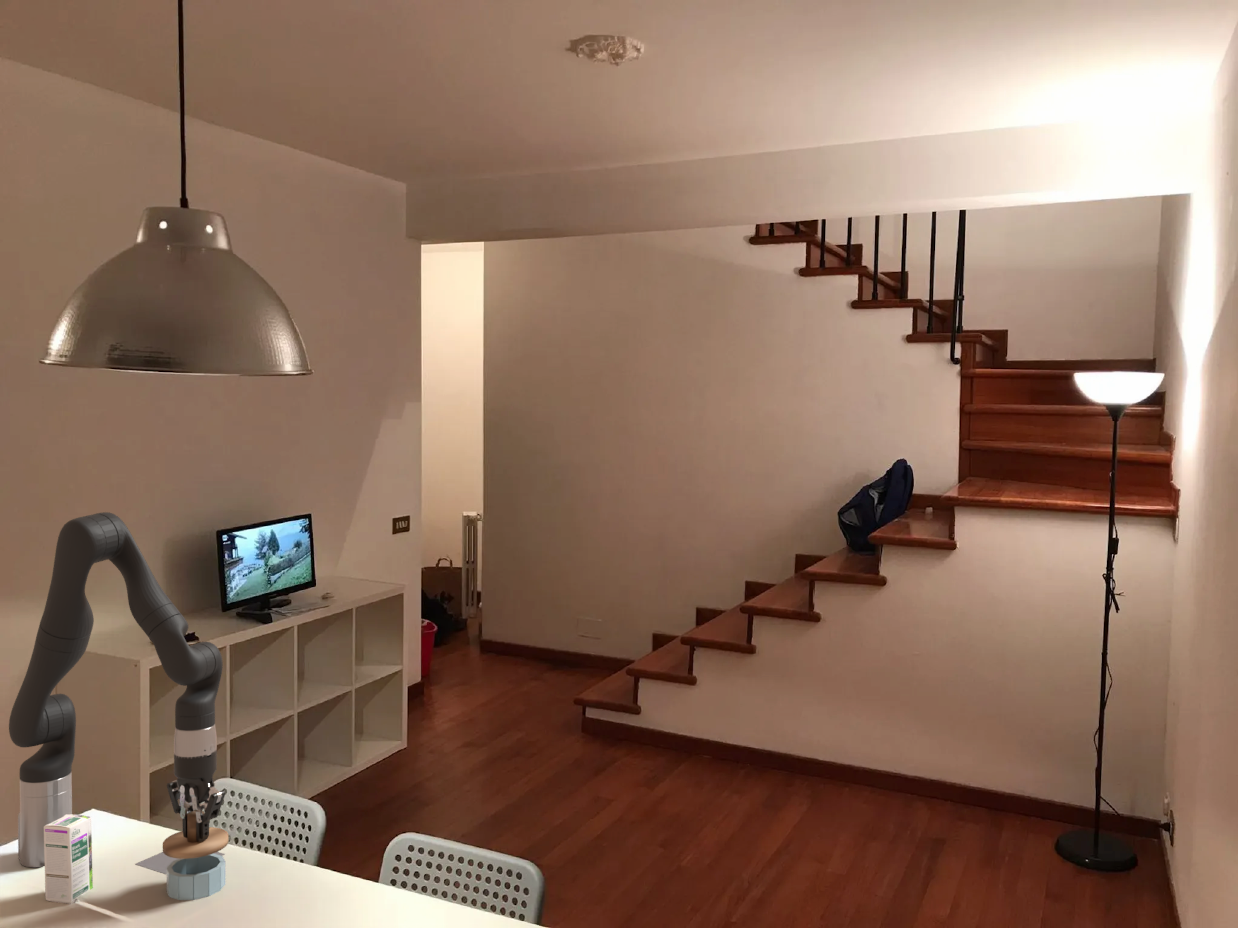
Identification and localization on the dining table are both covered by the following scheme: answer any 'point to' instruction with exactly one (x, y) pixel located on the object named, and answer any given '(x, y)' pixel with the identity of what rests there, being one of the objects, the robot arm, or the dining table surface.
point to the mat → (160, 862)
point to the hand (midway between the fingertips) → (195, 837)
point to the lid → (194, 841)
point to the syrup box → (68, 858)
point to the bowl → (195, 877)
